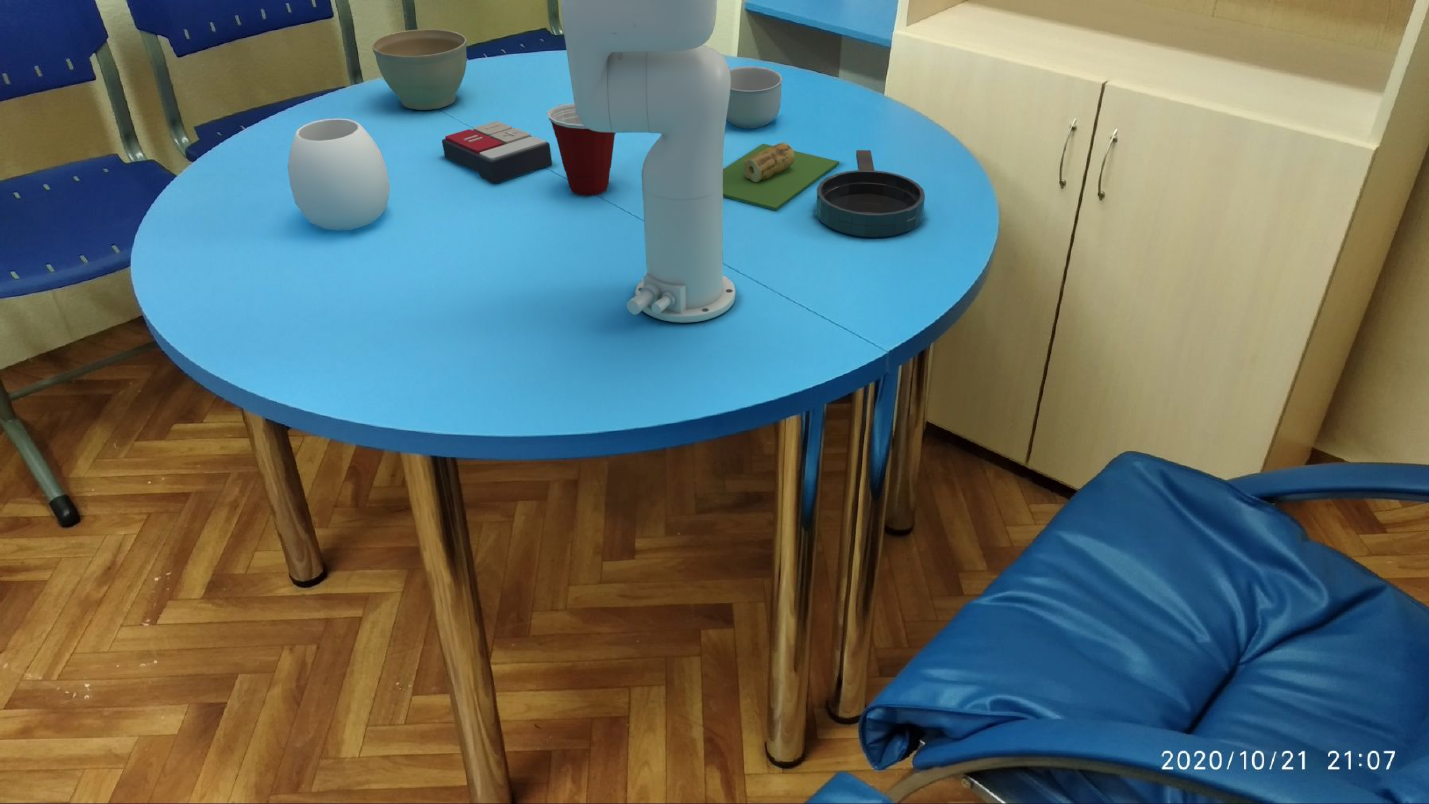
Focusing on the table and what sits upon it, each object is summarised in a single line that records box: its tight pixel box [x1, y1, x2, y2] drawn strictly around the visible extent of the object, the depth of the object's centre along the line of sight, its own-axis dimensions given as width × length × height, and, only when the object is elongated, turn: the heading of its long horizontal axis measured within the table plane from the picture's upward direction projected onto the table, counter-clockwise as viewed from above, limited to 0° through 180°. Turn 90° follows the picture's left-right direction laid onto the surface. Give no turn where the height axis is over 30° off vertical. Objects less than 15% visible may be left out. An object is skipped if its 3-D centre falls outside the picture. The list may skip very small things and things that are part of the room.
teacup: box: [726, 65, 783, 129], centre depth 180 cm, size 14×11×8 cm
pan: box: [815, 169, 926, 238], centre depth 151 cm, size 15×15×4 cm
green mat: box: [723, 143, 840, 212], centre depth 163 cm, size 20×14×1 cm
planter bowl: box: [371, 28, 468, 111], centre depth 188 cm, size 16×16×11 cm
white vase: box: [287, 117, 391, 231], centre depth 148 cm, size 13×13×14 cm
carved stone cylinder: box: [743, 142, 795, 182], centre depth 162 cm, size 8×4×4 cm, turn 135°
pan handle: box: [855, 149, 875, 170], centre depth 159 cm, size 8×2×1 cm, turn 177°
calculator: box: [441, 120, 553, 184], centre depth 168 cm, size 11×4×15 cm
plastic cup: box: [546, 102, 616, 197], centre depth 157 cm, size 11×11×12 cm
